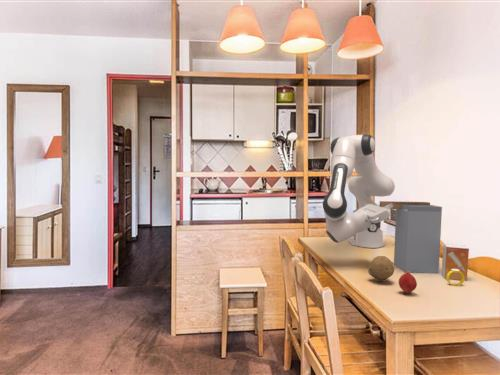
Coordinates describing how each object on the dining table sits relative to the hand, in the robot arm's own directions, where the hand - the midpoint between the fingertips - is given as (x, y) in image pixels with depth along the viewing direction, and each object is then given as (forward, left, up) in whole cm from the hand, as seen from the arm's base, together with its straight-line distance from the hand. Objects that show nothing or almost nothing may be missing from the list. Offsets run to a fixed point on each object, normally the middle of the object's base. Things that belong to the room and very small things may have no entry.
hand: (389, 204), depth 161 cm
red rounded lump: (+34, -7, -28) cm, 44 cm away
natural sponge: (+21, -11, -28) cm, 37 cm away
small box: (+15, +21, -28) cm, 38 cm away
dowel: (0, +7, -2) cm, 7 cm away
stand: (+3, +11, -28) cm, 30 cm away
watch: (+24, +16, -28) cm, 40 cm away
